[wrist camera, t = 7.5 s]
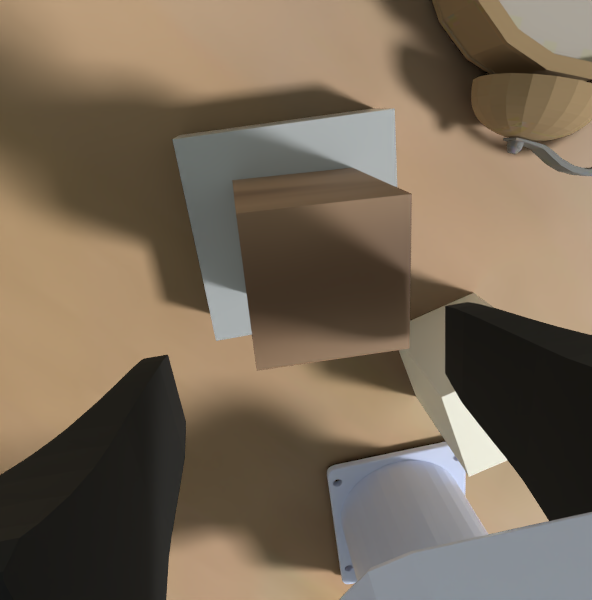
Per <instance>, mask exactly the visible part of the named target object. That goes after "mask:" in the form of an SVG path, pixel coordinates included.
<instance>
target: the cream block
mask: <svg viewBox="0 0 592 600" xmlns="http://www.w3.org/2000/svg"><path fill="white" fill-rule="evenodd" d="M465 302H471V303H477V304H481V305H485V306H489V307H492V306H491V305H490V304H488V303H487V302H485V301H484V300H483V299H481V298H480V297H479V296H477V295H476V294H475V293H472V294H470V295H467V296H465V297H463V298H461V299H458V300H456V301H454V302H451V303H449V304H447V305H445V306H448V305H453V304H459V303H465ZM445 306H442V307H440V308H438V309H436V310H433V311H431V312H429V313H427V314H424V315H422V316H420V317H418V318H415V319H413V320H411V321H410V347H409V349H403V350H399V353H400V355H401V358H402V361H403V363H404V366H405V369H406V371H407V374H408V377H409V379H410V382H411V385H412V387H413V390H414V393H415V395H416V397H417V399H418V400H419V402H420V403H421V405H422V406H423V408H424V409H425V411H426V412H427V414H428V415H429V417H430V418H431V420H432V421H433V423H434V424H435V426H436V428H437V429H438V431H439V432H440V434H441V435H442V437H443V438H444V440H445V441H446V443H447V444H448V446H449V447H450V449H451V450H452V452H453V453H454V455H455V456H456V458H457V459H458V461H459V462H460V464H461V465H462V467H463V468H464V470H465V471H466V473H467V474H468V476H472V475H474V474H476V473H479V472H481V471H483V470H486V469H488V468H490V467H493V466H495V465H497V464H500V463H502V462H504V461H507V459H506V457H505V456H504V455H503V454H502V452H501V451H500V450H499V449H498V448H497V446H496V445H495V444H494V443H493V441H492V440H491V439H490V438H489V436H488V435H487V434H486V433H485V431H484V430H483V429H482V428H481V426H480V425H479V424H478V423H477V421H476V420H475V419H474V417H473V416H472V415H471V414H470V412H469V411H468V410H467V409H466V407H465V406H464V405H463V403H462V402H461V400H460V398H459V397H458V395H457V393H456V392H455V390H454V388H453V387H452V385H451V383H450V381H449V379H448V378H447V376H446V374H445ZM492 308H494V307H492Z"/></svg>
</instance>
